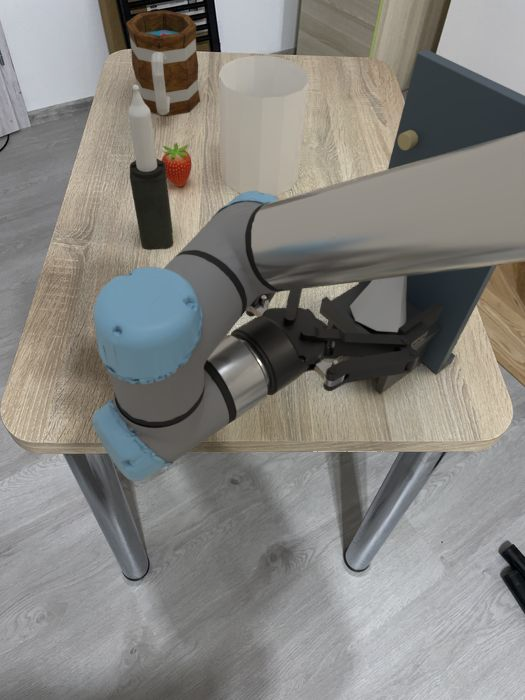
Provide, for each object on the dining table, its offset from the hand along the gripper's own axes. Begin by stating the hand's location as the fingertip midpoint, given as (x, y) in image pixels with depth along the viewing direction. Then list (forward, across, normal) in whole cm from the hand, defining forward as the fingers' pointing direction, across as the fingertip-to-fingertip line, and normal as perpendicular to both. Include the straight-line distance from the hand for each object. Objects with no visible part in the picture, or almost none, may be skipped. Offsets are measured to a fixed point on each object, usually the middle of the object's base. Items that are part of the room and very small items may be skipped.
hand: (392, 275), depth 62 cm
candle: (-10, -38, -16) cm, 42 cm away
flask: (0, 0, -7) cm, 7 cm away
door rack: (+2, 0, -16) cm, 16 cm away
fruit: (+2, -48, -16) cm, 51 cm away
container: (+16, -42, -16) cm, 48 cm away
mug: (+15, -73, -16) cm, 76 cm away
